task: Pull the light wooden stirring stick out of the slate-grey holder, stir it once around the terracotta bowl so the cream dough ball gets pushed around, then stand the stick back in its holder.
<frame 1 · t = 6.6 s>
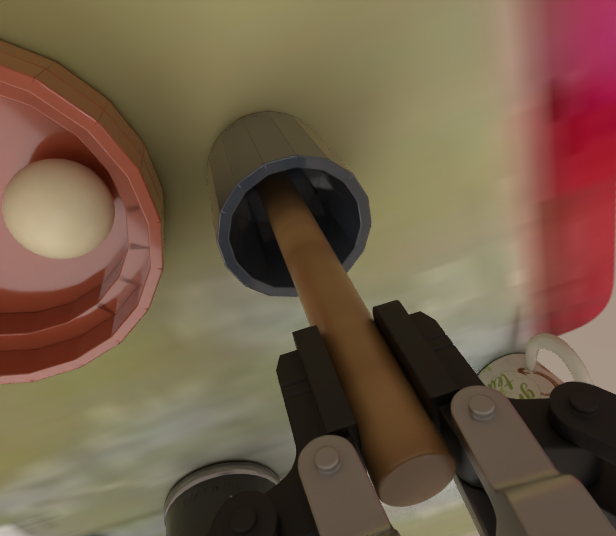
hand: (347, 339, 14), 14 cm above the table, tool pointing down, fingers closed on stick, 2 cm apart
stick: (269, 176, 25), point 1 cm above the table, touching gripper, holder
holder: (268, 172, 25), on the table
dough ball: (70, 190, 23), resting on bowl
mug: (504, 360, 38), on the table
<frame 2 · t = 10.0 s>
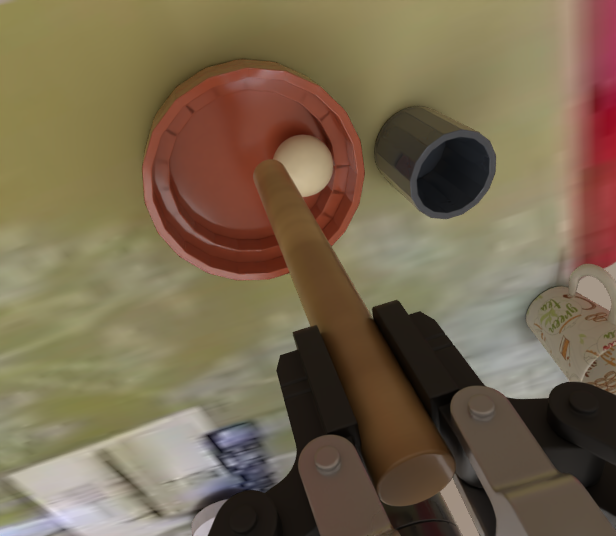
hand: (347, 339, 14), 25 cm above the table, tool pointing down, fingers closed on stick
screw: (226, 508, 58), on the table
stick: (270, 175, 25), point 11 cm above the table, touching gripper
holder: (411, 146, 38), on the table
dough ball: (296, 156, 36), resting on bowl
mug: (551, 292, 52), on the table
bowl: (251, 166, 36), on the table
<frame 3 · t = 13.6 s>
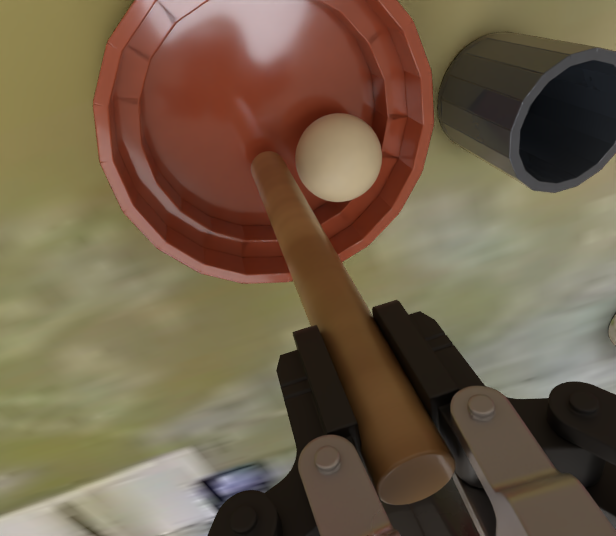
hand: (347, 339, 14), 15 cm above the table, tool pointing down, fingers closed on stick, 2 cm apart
stick: (267, 167, 24), point 2 cm above the table, touching gripper
holder: (488, 93, 27), on the table
dough ball: (321, 145, 26), point 1 cm above the table, tilted 9°, touching bowl
bowl: (263, 118, 25), on the table
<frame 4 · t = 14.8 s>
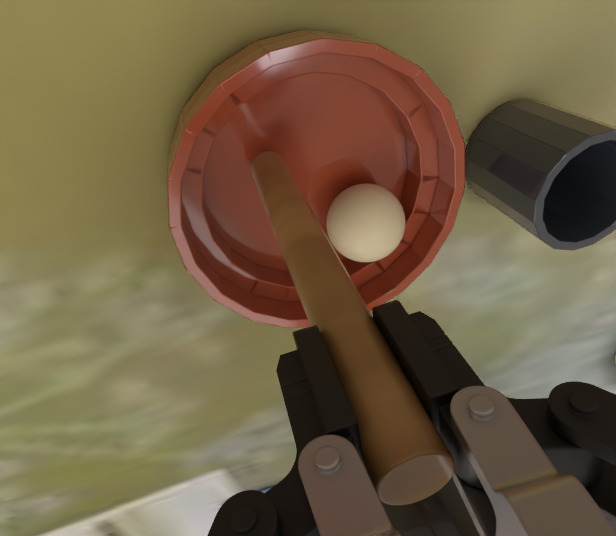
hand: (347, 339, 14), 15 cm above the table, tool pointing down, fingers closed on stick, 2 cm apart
stick: (267, 167, 24), point 2 cm above the table, touching gripper
holder: (510, 151, 30), on the table
dough ball: (358, 200, 28), point 1 cm above the table, tilted 13°, touching bowl
bowl: (306, 177, 27), on the table
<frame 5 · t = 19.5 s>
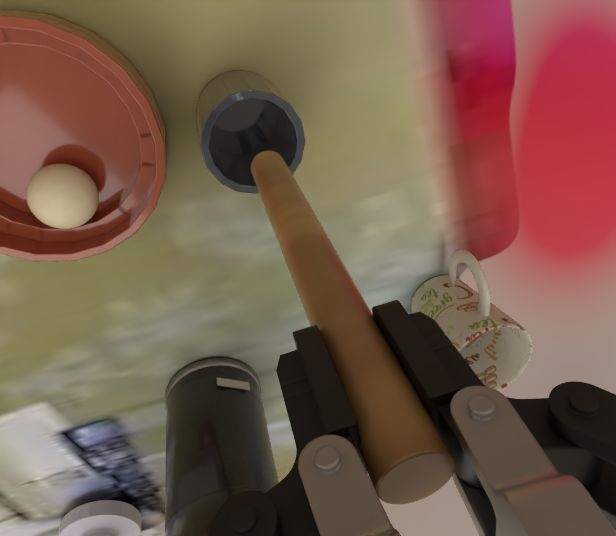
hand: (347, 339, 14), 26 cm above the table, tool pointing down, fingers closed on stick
screw: (103, 510, 54), on the table
stick: (267, 166, 24), point 12 cm above the table, touching gripper
holder: (240, 116, 35), on the table
dough ball: (86, 174, 32), point 2 cm above the table, tilted 84°, touching bowl
mug: (436, 281, 48), on the table
bowl: (50, 135, 33), on the table
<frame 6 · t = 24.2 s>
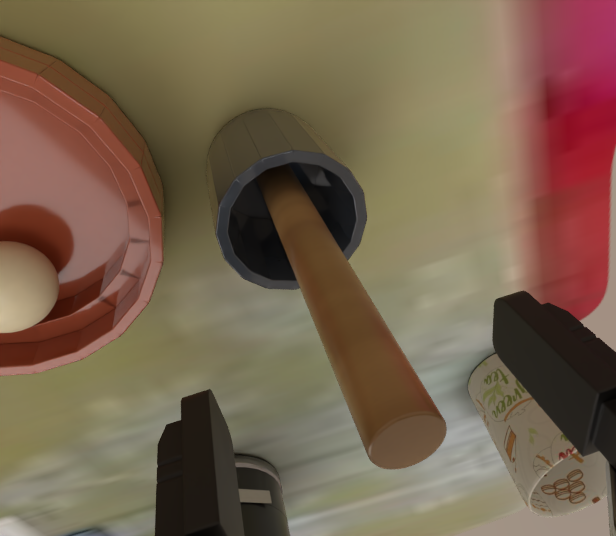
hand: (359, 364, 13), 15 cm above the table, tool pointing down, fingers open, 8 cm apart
stick: (267, 162, 25), resting on holder
holder: (266, 168, 26), on the table
dough ball: (36, 258, 22), point 3 cm above the table, tilted 92°, touching bowl
mug: (500, 355, 39), on the table
bowl: (2, 201, 23), on the table
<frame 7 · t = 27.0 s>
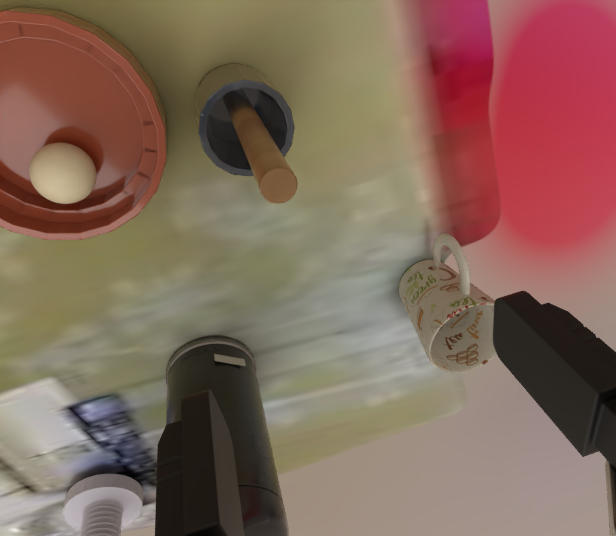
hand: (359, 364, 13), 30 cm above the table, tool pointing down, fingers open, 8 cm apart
screw: (106, 485, 57), on the table
stick: (236, 100, 37), resting on holder
holder: (236, 106, 38), on the table
dough ball: (84, 152, 34), point 3 cm above the table, tilted 85°, touching bowl
mug: (422, 265, 51), on the table
bowl: (60, 123, 35), on the table
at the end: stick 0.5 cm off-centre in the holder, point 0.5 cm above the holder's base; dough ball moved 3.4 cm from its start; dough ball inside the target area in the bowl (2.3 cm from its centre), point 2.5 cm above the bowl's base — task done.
